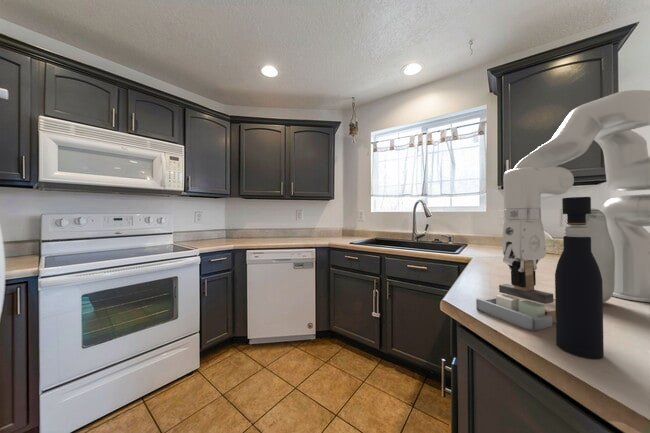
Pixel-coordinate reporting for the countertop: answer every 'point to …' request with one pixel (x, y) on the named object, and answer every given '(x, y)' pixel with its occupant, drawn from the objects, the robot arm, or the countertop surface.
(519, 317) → the tray
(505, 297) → the cream block
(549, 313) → the walnut plate
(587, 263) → the black bottle
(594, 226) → the white tall rounded piece
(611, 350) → the countertop surface
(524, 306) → the sage tile
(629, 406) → the countertop surface
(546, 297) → the rubber stamp
